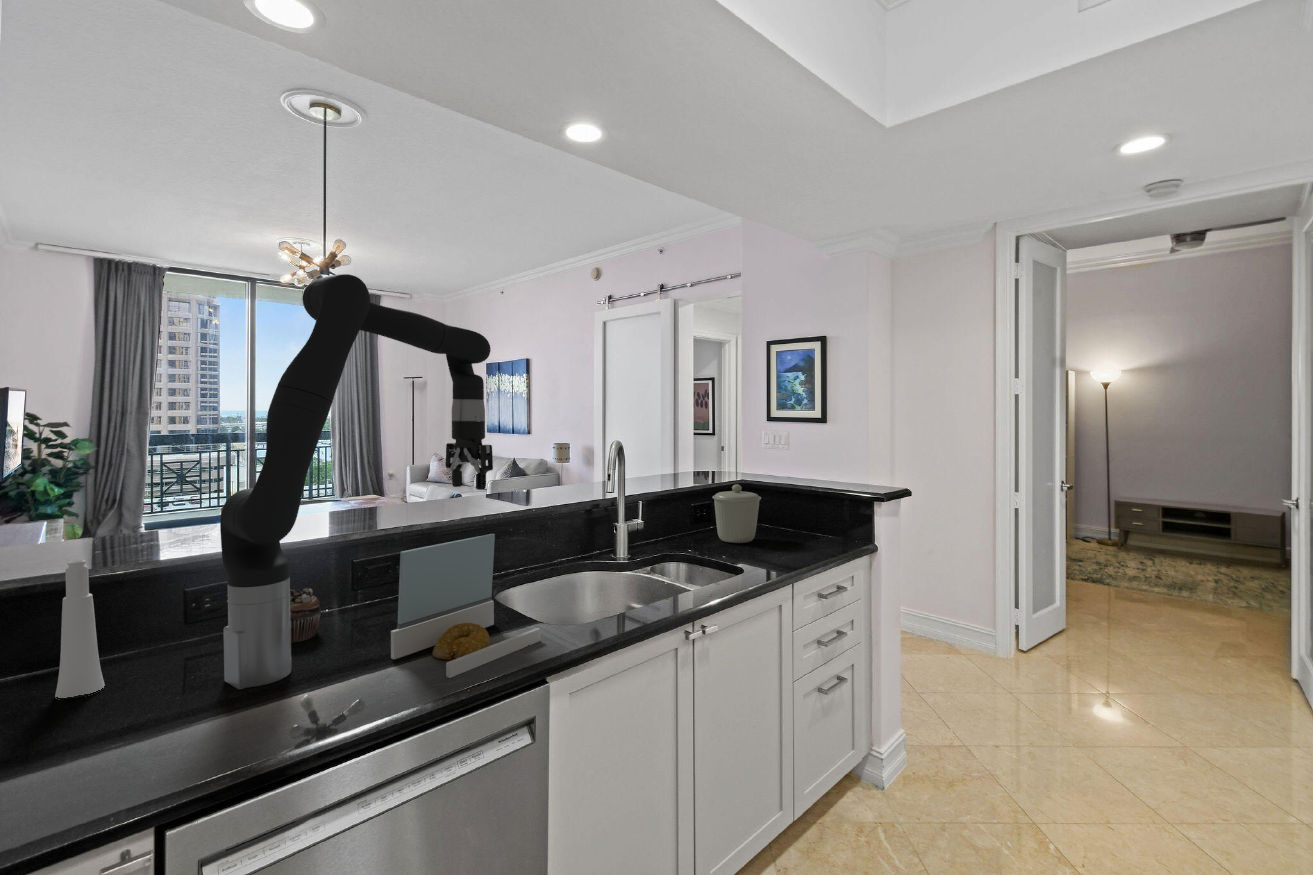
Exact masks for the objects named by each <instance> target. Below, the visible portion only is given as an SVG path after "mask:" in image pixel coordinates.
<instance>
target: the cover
mask: <svg viewBox="0 0 1313 875" xmlns="http://www.w3.org/2000/svg"><path fill="white" fill-rule="evenodd" d="M495 537H496V534H495V533H489V534H484V535H480V536H473V537H468V538H464V539H458V540H453V541H449V542H444V543H443V542H442V543H437V544H433V545H429V546H428V545H427V546H423V547H422V546H421V547H417V548H412V549H408V550H407V549H406V550H403V551H400V553H399V554H400V555H399V556H400V558H399V560H400V561H399V581H398V602H397V603H398V604H397V625H396V629H402V628H406V627H409V626H412V625H415V624H419V623H422V622H425V621H428V620H432V619H435V618H438V617H441V616H444V615H448V614H451V613H454V612H457V611H461V610H464V609H467V608H470V607H474V606H477V605H480V604H483V603H486V602H490V601H491V600H492V601H493V599H492V597H493V596H492V592H493V579H494V578H493V576H494V558H495V540H496V538H495Z"/></svg>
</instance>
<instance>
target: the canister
mask: <svg viewBox="0 0 1313 875" xmlns="http://www.w3.org/2000/svg"><path fill="white" fill-rule="evenodd" d="M731 489H732V490H730V491H729V490H728V491H727V490H726V491H719V492H717V493H715V494H714V495H712V499H713V500H714V511H715V512H714V513H715V522H716V530H717V535H718V538H719V539H720V540H721V541H722V542H725V543H730V544H745V543H746V544H747V543H750V542H752V541H753V540H754V538H755V537H756V532H757V525H758V524H757V523H758V517H759V515H758V514H759V509H760V508H759V507H760V501H761V499H762V497H761V496H759V494H757V493H754V492H751V491H750V492H749V491H742V489H743V488H742V486H741V485H740V484H734V485H732V486H731Z"/></svg>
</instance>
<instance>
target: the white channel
mask: <svg viewBox="0 0 1313 875" xmlns="http://www.w3.org/2000/svg"><path fill="white" fill-rule="evenodd" d="M494 605H495V602H494V600H493V599H492V600H491V601H490V602H486V603H483V604H480V605H477V606H474V607H470V608H467V609H464V610H461V611H457V612H454V613H451V614H448V615H444V616H441V617H438V618H435V619H432V620H428V621H425V622H422V623H419V624H415V625H412V626H409V627H406V628H402V629H398V628H396V629H393V630H390V659H392V660H397V659H400V658H402V657H406V656H408V655H411V654H414V653H417V652H419V651H422V650H425V649H426V650H427V649H428V648H431V647H433V646H434V647H435V644H436V642H437V641H438V639H439V638H441V637H442V635H443V634H444V632H446V631H447V630H448V629H449V628H450V627H452V626H454V625H457V624H462V623H473V624H478V625H480V626H481V627H483V628H484V629H486V628H488V627H491V626H493V625H494V624H495V611H494V610H495V606H494ZM540 641H541V628H538V627H535V628H533V629H530V630H528V631H525V632H523V633H520V634H518V635H514V636H512V637H510V638H507V639H504V640H502V641H500V642H496V643H494V644H492V645H489V646H488V647H486V648H483V649H481V650H478V651H476V652H473V653H470V654H468V655H465V656H463V657H460V658H457V659H455V658H454V659H451V660H450V661H447V662H446V663H445V667H446V668H445V669H446V670H445V672H446V673H445V675H446V676H445V677H446V678H449V679H451V678H453V677H456V676H458V675H460V674H463V673H465V672H468V671H470V670H473V669H475V668H478V667H480V666H483V665H485V664H488V663H491V662H493V661H495V660H497V659H500V658H502V657H504V656H507V655H509V654H511V653H512V654H513V653H515V652H517V651H519V650H521V649H524V648H525V647H526V648H527V647H529V646H531V645H534V644H536V643H538V642H540ZM528 645H529V646H528Z"/></svg>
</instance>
